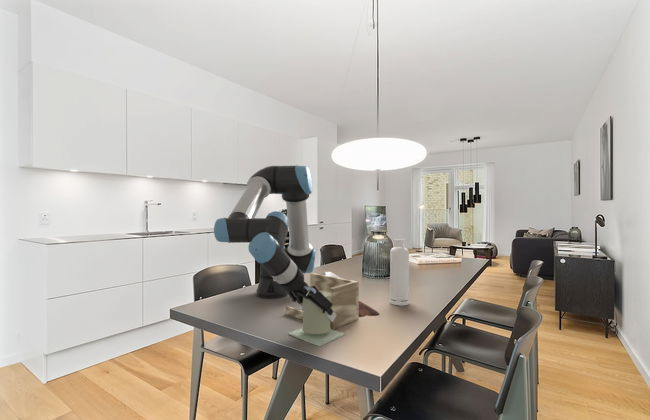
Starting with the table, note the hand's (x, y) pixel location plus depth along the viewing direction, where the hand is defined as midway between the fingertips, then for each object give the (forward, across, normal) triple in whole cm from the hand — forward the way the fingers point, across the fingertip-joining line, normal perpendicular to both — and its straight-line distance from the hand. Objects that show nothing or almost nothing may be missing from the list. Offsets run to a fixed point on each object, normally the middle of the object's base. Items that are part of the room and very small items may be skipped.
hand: (323, 315), depth 109 cm
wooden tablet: (+26, -9, +17) cm, 33 cm away
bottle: (+38, +2, +30) cm, 48 cm away
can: (+1, 0, -5) cm, 5 cm away
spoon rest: (+40, -40, +31) cm, 64 cm away
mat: (+2, 0, -6) cm, 7 cm away
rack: (+12, -11, +4) cm, 17 cm away
